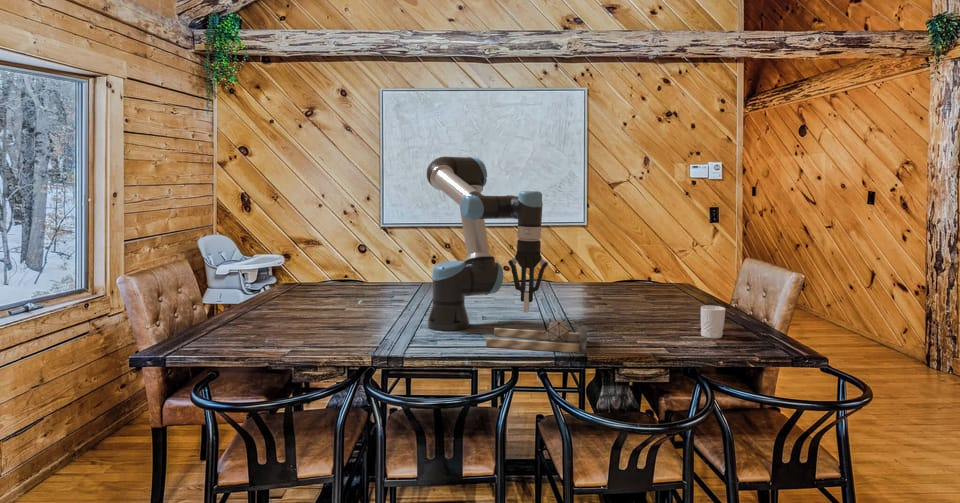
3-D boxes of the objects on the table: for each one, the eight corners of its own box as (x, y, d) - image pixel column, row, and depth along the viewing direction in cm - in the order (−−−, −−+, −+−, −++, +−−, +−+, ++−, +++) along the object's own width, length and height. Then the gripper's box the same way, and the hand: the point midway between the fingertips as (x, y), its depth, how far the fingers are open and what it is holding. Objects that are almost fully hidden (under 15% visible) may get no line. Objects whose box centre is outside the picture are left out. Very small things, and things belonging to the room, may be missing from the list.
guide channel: (486, 346, 178) (486, 331, 177) (495, 334, 192) (495, 320, 192) (585, 353, 171) (585, 337, 171) (586, 340, 186) (587, 326, 185)
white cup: (722, 334, 196) (724, 306, 195) (724, 339, 189) (726, 310, 188) (698, 332, 199) (700, 304, 198) (699, 337, 192) (701, 309, 190)
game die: (559, 353, 184) (574, 327, 187) (563, 351, 176) (579, 324, 178) (536, 338, 185) (551, 313, 188) (539, 336, 177) (555, 309, 179)
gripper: (506, 239, 177) (504, 312, 180) (548, 241, 174) (545, 315, 177) (510, 237, 184) (508, 307, 187) (550, 239, 181) (547, 310, 184)
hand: (526, 311), depth 182 cm, fingers closed
